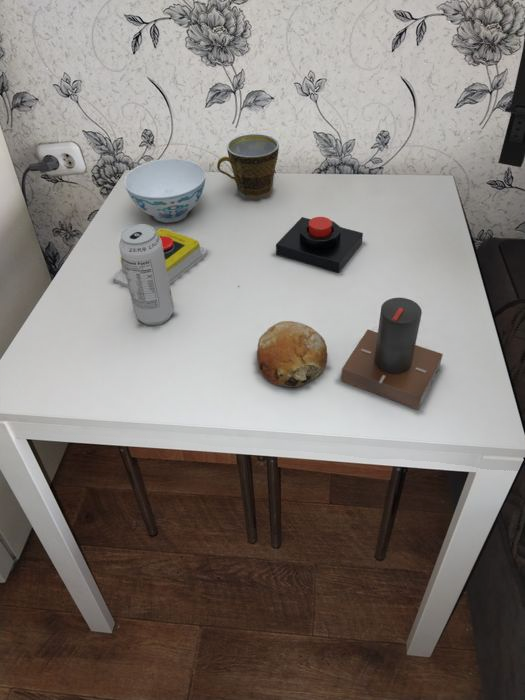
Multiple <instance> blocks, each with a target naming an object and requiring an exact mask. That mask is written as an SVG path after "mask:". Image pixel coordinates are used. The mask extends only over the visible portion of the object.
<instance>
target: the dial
mask: <svg viewBox="0 0 525 700" xmlns="http://www.w3.org/2000/svg"><path fill="white" fill-rule="evenodd" d="M422 314H423V311H422V308H421V306H420V305H419V304H418V303H417V302H416V301H414V300H413V299H410V298H406V297H391V298H389V299H387V300H385V301H384V302H383V303H382V304H381V306H380V314H379V321H378V329H377V333H378V335H377V342H376V350H375V357H374V361H375V364H376V366H377V367H378V368H379V369H381V370H382V371H384V372H387V373H390V374H400V373H403V372H406V371H407V370H408V369H409V368H410V367H411V365H412V360H413V355H414V350H415V345H416V344H417V339H418V334H419V328H420V323H421V318H422Z"/></svg>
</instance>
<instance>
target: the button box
mask: <svg viewBox="0 0 525 700" xmlns="http://www.w3.org/2000/svg"><path fill="white" fill-rule="evenodd" d="M311 219H312V218H307V217H304V216H301V217H300V218H299V219H298V221H297V222H296V223H294V225H293V226H292V227H291V228H290V229H289V230H288V231H287V232H286V233H285V234H284V235H283V236H282V237H281V239H279V240H278V242H276V243H275V252H276V253H275V255H276V256H279V257H283V258H287V259H290V260H293V261H297V262H300V263H303V264H307V265H310V266H312V267H313V266H314V267H316V268H320V269H324V270H326V271H330V272H334V273H337V274H339V273H340V272H342V270H343V269H344V267H345V266H346V265H347V263H348V262H349V261H350V259H351V258H352V257H353V256H354V254H356V252H357V250H358V249H359V248H360V246H361V245H362V244H363V236H364V232H361V231H356V230H354V229H349V228H347V227H346V228H345V227H343V226H342V227H341V226H340V225H339V224H337V223H336V222H335V221H333V220H331V221H332V232H331V234H330V235H328V236H326V237H315V236H312V235H310V234H309V232H308V230H309V221H310V220H311Z"/></svg>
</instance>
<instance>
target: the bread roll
mask: <svg viewBox="0 0 525 700" xmlns="http://www.w3.org/2000/svg"><path fill="white" fill-rule="evenodd" d="M256 355H257V356H256V357H257V364H258V368H259V372H260V374H261V375H262V376H263V377H264V378H265V379H266V380H267V381H268V382H270V383H272V384H274V385H276V386H283V387H289V388H295V387H296V388H297V387H301V386H303V385H307V383H309V382H312V381H313V380H315V379H316V378H317V377H318V376H320V374H321V372H323V371H325V368H326V367H327V362H328V347H327V343H326V341H325V339H324V338H323V336H322V335H321V334H320V333H319V332H318V331H317V330H315V329H314V328H312V327H311V326H309V325H307V324H306V323H302V322H298V321H293V320H284V321H283V320H282V321H279V322H277V323H274V324H273V325H272V326H270V327H269V328H268V329H267V330H266V331H265V332H264V333H262V335H260V337H259V338H258V343H257V352H256Z"/></svg>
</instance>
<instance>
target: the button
mask: <svg viewBox="0 0 525 700" xmlns="http://www.w3.org/2000/svg"><path fill="white" fill-rule="evenodd" d="M310 219H311V220H310V221H309V230H308V232H309V234H310V235H312V236H315V237H326V236H328V235H330V234H331V232H332V221H333V220H331V219H330V218H328V217H325V216H314V217H312V218H310Z"/></svg>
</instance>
